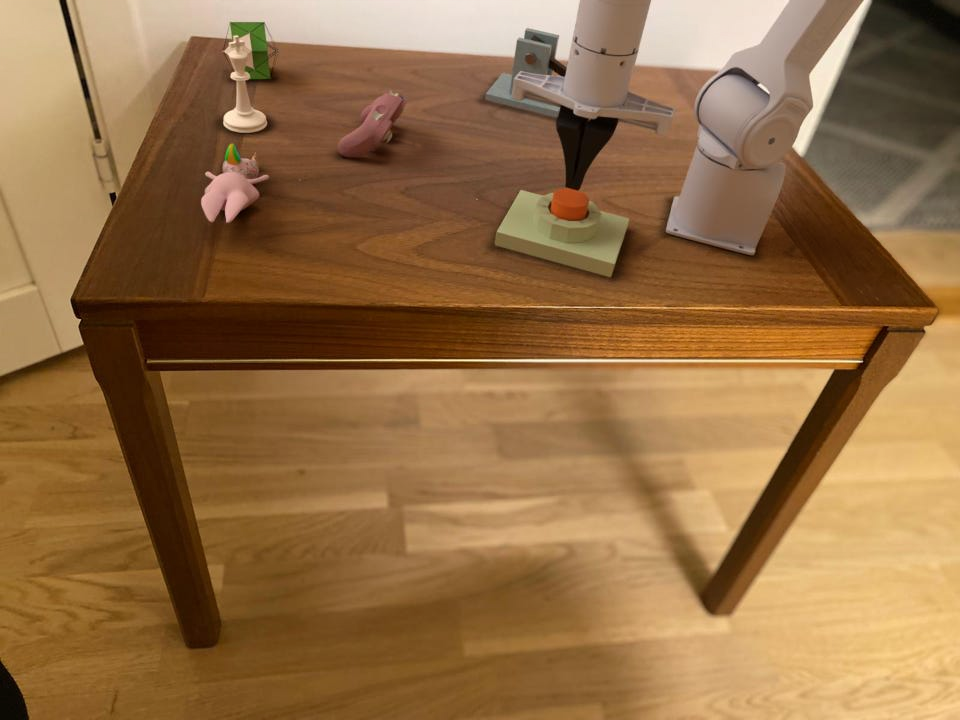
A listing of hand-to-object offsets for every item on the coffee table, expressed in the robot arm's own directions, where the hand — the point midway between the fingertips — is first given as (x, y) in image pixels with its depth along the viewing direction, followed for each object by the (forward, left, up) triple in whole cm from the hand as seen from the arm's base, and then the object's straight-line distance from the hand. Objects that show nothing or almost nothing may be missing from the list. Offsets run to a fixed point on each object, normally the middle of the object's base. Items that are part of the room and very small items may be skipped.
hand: (573, 184), depth 72 cm
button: (0, 0, -3) cm, 3 cm away
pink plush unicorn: (+32, +10, -6) cm, 34 cm away
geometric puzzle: (+46, -18, -6) cm, 50 cm away
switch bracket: (+12, -31, -6) cm, 34 cm away
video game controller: (+25, -9, -6) cm, 27 cm away
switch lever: (+9, -31, -3) cm, 32 cm away
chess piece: (+40, -6, -6) cm, 41 cm away
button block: (0, 0, -6) cm, 6 cm away
